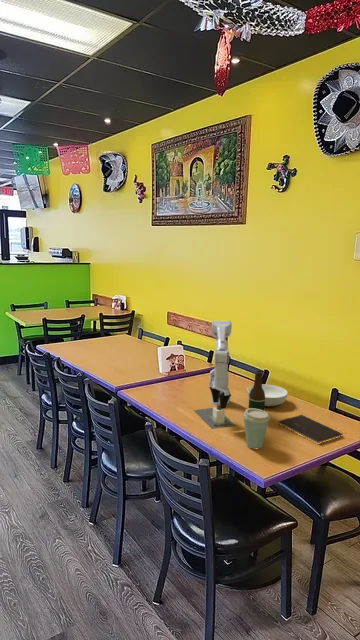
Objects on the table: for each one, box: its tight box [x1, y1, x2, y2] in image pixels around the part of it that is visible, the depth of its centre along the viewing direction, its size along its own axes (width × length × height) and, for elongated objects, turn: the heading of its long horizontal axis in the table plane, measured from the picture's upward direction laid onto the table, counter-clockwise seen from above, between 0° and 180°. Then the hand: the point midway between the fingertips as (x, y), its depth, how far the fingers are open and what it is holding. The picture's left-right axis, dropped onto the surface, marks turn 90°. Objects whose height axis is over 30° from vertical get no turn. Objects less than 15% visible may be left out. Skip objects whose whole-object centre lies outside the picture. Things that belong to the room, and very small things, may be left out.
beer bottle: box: [247, 370, 266, 411], centre depth 195 cm, size 8×8×24 cm
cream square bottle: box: [212, 405, 226, 424], centre depth 191 cm, size 4×4×7 cm
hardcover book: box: [278, 414, 344, 443], centre depth 188 cm, size 16×23×2 cm
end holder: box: [208, 414, 231, 426], centre depth 192 cm, size 8×7×2 cm
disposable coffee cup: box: [243, 408, 270, 449], centre depth 170 cm, size 11×11×15 cm
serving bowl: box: [246, 383, 289, 407], centre depth 219 cm, size 21×21×7 cm
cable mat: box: [193, 407, 237, 430], centre depth 196 cm, size 12×22×1 cm, turn 20°
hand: (219, 405), depth 190 cm, fingers open, 7 cm apart
